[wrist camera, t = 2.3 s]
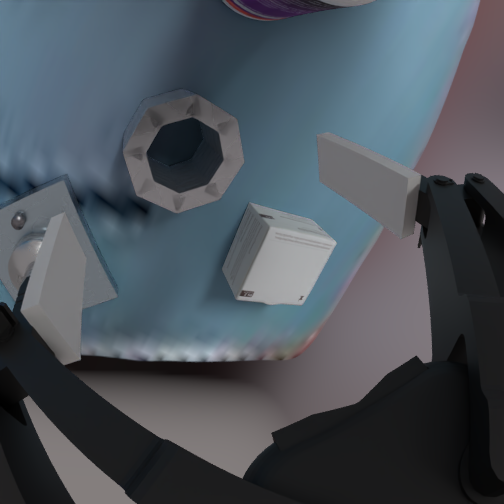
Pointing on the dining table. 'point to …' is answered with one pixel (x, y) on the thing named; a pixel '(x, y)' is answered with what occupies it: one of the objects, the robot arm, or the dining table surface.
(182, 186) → the tube
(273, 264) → the small box
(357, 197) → the robot arm
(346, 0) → the pill bottle
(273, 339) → the dining table surface
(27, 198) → the block
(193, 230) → the dining table surface
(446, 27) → the dining table surface
